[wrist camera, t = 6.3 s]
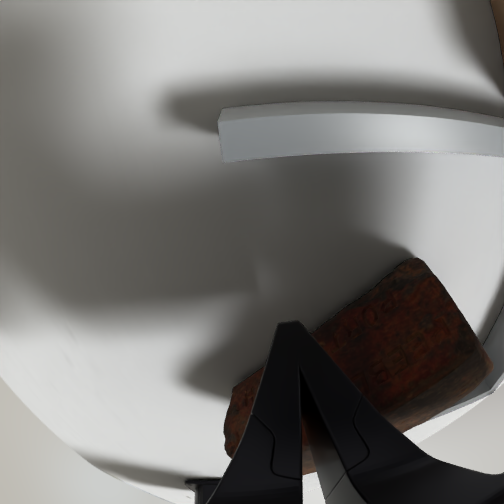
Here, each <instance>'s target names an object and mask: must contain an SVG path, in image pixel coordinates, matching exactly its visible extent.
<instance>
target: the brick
mask: <svg viewBox="0 0 504 504" xmlns="http://www.w3.org/2000/svg"><path fill="white" fill-rule="evenodd" d="M311 335H312V336H313V337H314V338H315V340H316V341H317V342H318V343H319V344H320V345H321V347H322V348H323V349H324V350H325V351H326V352H327V354H328V355H329V356H330V357H331V358H332V359H333V360H334V362H335V363H336V364H337V365H338V366H339V367H340V369H341V370H342V371H343V372H344V373H345V374H346V375H347V377H348V378H349V379H350V380H351V381H352V382H353V384H354V385H355V386H356V387H357V388H358V389H359V390H360V392H361V393H362V394H363V395H362V396H365V397H366V398H367V399H368V401H369V402H370V403H371V404H372V405H373V406H374V407H375V408H376V409H377V410H378V411H379V413H380V414H381V415H382V416H383V417H384V418H386V419H387V420H388V421H389V422H390V423H391V424H392V425H393V426H394V427H395V428H397V429H398V430H399V431H400V432H401V433H404V432H406V431H407V430H409V429H411V428H413V427H415V426H417V425H420V424H422V423H424V422H426V421H428V420H429V419H431V418H432V417H434V416H436V415H438V414H440V413H441V412H443V411H445V410H446V409H448V408H449V407H451V406H453V405H454V404H455V403H457V402H458V401H460V400H461V399H462V398H464V397H465V396H467V395H468V394H469V393H471V392H472V391H473V390H475V389H476V388H477V387H478V386H479V385H480V384H481V382H482V381H483V380H484V379H485V378H486V377H487V376H488V375H489V374H490V373H491V372H492V371H493V368H494V366H493V362H492V360H491V359H490V357H489V356H488V354H487V353H486V351H485V350H484V348H483V347H482V345H481V343H480V341H479V340H478V338H477V337H476V335H475V333H474V332H473V330H472V328H471V327H470V325H469V324H468V322H467V321H466V319H465V317H464V316H463V314H462V313H461V311H460V310H459V309H458V307H457V305H456V304H455V302H454V301H453V299H452V297H451V296H450V295H449V293H448V292H447V290H446V289H445V287H444V286H443V284H442V283H441V282H440V281H439V279H438V278H437V277H436V276H435V275H434V274H433V272H432V271H431V270H430V268H429V267H428V266H427V265H426V263H425V262H424V261H422V260H421V259H419V258H411V259H409V260H406V261H405V262H403V263H402V264H401V265H399V266H398V267H397V268H396V269H395V270H394V271H393V272H392V273H391V274H389V275H387V276H386V277H385V278H384V279H383V280H382V281H381V282H380V283H379V284H378V285H377V286H376V287H375V288H373V289H372V290H371V291H370V292H368V293H367V294H365V295H364V296H362V297H361V298H360V299H358V300H357V301H355V302H353V303H351V304H350V305H348V306H347V307H345V308H344V309H342V310H341V311H340V312H338V314H337V315H336V316H335V317H333V318H332V319H330V320H329V321H327V322H326V323H325V324H323V325H322V326H321V327H320V328H319V329H317V330H316V331H315V332H313V333H312V334H311ZM264 368H265V367H263V368H262V369H260V370H259V371H257V372H256V373H254V374H253V375H252V376H250V377H249V378H247V379H246V380H244V381H243V382H241V383H240V384H238V385H237V386H235V387H233V390H232V397H231V401H230V405H229V408H228V410H227V413H226V418H225V422H224V435H225V439H226V440H225V444H224V446H225V451H226V453H227V455H228V456H229V457H230V458H231V459H232V458H233V456H234V454H235V452H236V450H237V448H238V446H239V443H240V441H241V439H242V436H243V434H244V431H245V428H246V425H247V422H248V419H249V416H250V414H251V410H252V407H253V404H254V401H255V398H256V395H257V391H258V388H259V385H260V382H261V378H262V375H263V372H264ZM302 471H303V475H306V474H309V473H314V472H317V471H316V467H315V464H314V460H313V457H312V453H311V450H310V446H309V443H308V439H307V436H306V432H305V429H304V425H303V422H302Z"/></svg>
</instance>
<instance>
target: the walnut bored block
mask: <svg viewBox="0 0 504 504" xmlns="http://www.w3.org/2000/svg"><path fill="white" fill-rule="evenodd" d="M490 2H491V6H492V9H493V13H494V17H495V21H496V26H497V30H498V35H499V40H500V45H501V51H502V57H503V64H504V0H490Z"/></svg>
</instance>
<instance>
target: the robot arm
mask: <svg viewBox="0 0 504 504" xmlns="http://www.w3.org/2000/svg"><path fill="white" fill-rule="evenodd" d="M362 395H363V394H362V393H361V392H360V390H359V389H358V388H357V387H356V386H355V385H354V384H353V382H352V381H351V380H350V379H349V378H348V377H347V375H346V374H345V373H344V372H343V371H342V370H341V369H340V367H339V366H338V365H337V364H336V363H335V362H334V360H333V359H332V358H331V357H330V356H329V355H328V354H327V352H326V351H325V350H324V349H323V348H322V347H321V345H320V344H319V343H318V342H317V341H316V340H315V338H314V337H313V336H312V335H311V334H310V333H309V332H308V330H307V329H306V328H305V327H304V326H303V325H302V323H301V322H300V321H298V320H296V321H288V322H281V323H278V324H277V327H276V331H275V334H274V338H273V341H272V345H271V348H270V351H269V355H268V358H267V362H266V365H265V368H264V372H263V375H262V378H261V382H260V385H259V388H258V391H257V395H256V398H255V401H254V404H253V407H252V410H251V414H250V416H249V419H248V422H247V425H246V428H245V431H244V434H243V436H242V439H241V441H240V443H239V446H238V448H237V450H236V452H235V454H234V456H233V458H232V460H231V462H230V464H229V466H228V468H227V469H226V471H225V473H224V475H223V477H222V479H221V480H220V481H193V480H186V481H185V485H186V486H187V487H188V488H190V489H191V490H192V491H193V492H195V504H303V482H302V479H303V471H302V422H303V425H304V429H305V432H306V436H307V439H308V443H309V446H310V450H311V453H312V457H313V460H314V464H315V467H316V471H317V474H318V478H319V481H320V485H321V488H322V491H323V495H324V499H325V503H326V504H504V472H503V473H501V474H496V475H495V474H493V475H492V474H485V473H481V472H478V471H474V470H470V469H466V468H463V467H459V466H456V465H453V464H450V463H446V462H443V461H440V460H438V459H435V458H433V457H431V456H430V455H428V454H427V453H425V452H424V451H422V450H421V449H420V448H419V447H418V446H416V445H415V444H414V443H413V442H412V441H411V440H409V439H408V438H407V437H406V436H405V435H404V434H402V433H401V432H400V431H399V430H398V429H397V428H395V427H394V426H393V425H392V424H391V423H390V422H389V421H388V420H387V419H386V418H384V417H383V416H382V415H381V414H380V413H379V411H378V410H377V409H376V408H375V407H374V406H373V405H372V404H371V403H370V402H369V401H368V399H367V398H366V397H365V396H362Z"/></svg>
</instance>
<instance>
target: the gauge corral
mask: <svg viewBox="0 0 504 504" xmlns="http://www.w3.org/2000/svg"><path fill="white" fill-rule="evenodd" d="M217 123H218V130H219V138H220V146H221V153H222V160H223V163H227V162H236V161H244V160H254V159H264V158H274V157H286V156H299V155H315V154H333V153H360V152H428V153H453V154H470V155H484V156H496V157H504V118H500V117H495V116H490V115H485V114H480V113H474V112H469V111H462V110H456V109H449V108H442V107H433V106H425V105H414V104H403V103H388V102H367V101H308V102H286V103H271V104H258V105H248V106H238V107H230V108H222V111H221V114H220V116H219V119H218V122H217ZM482 347H483V348H484V350H485V351H486V353H487V354H488V356H489V357H490V359H491V360H492V362H493V366H494V368H493V371H492V372H491V373H490V374H489V375H488V376H487V377H486V378H485V379H484V380H483V381H482V382H481V384H480V385H479V386H478V387H477V388H476V389H475V390H473V391H472V392H471V393H469V394H468V395H467V396H465V397H464V398H462V399H461V400H460V401H458V402H457V403H455V404H454V405H453V406H451V407H449V408H448V409H446V410H445V411H443V412H441V413H440V414H438V415H436V416H434V417H432V418H431V419H434V418H437V417H439V416H442V415H445V414H447V413H450V412H452V411H454V410H457V409H459V408H462V407H464V406H466V405H468V404H471V403H473V402H475V401H477V400H479V399H481V398H484V397H486V396H488V395H490V394H492V393H493V392H494V391H495V390H496V388H497V387H498V386H499V385H500V383H501V382H502V381H503V379H504V306H503V308H502V310H501V313H500V315H499V317H498V319H497V321H496V323H495V324H494V326H493V328H492V330H491V332H490V334H489V336H488V338H487V339H486V341H485V343H484V345H483V346H482ZM431 419H429V420H431ZM429 420H428V421H429Z"/></svg>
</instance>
